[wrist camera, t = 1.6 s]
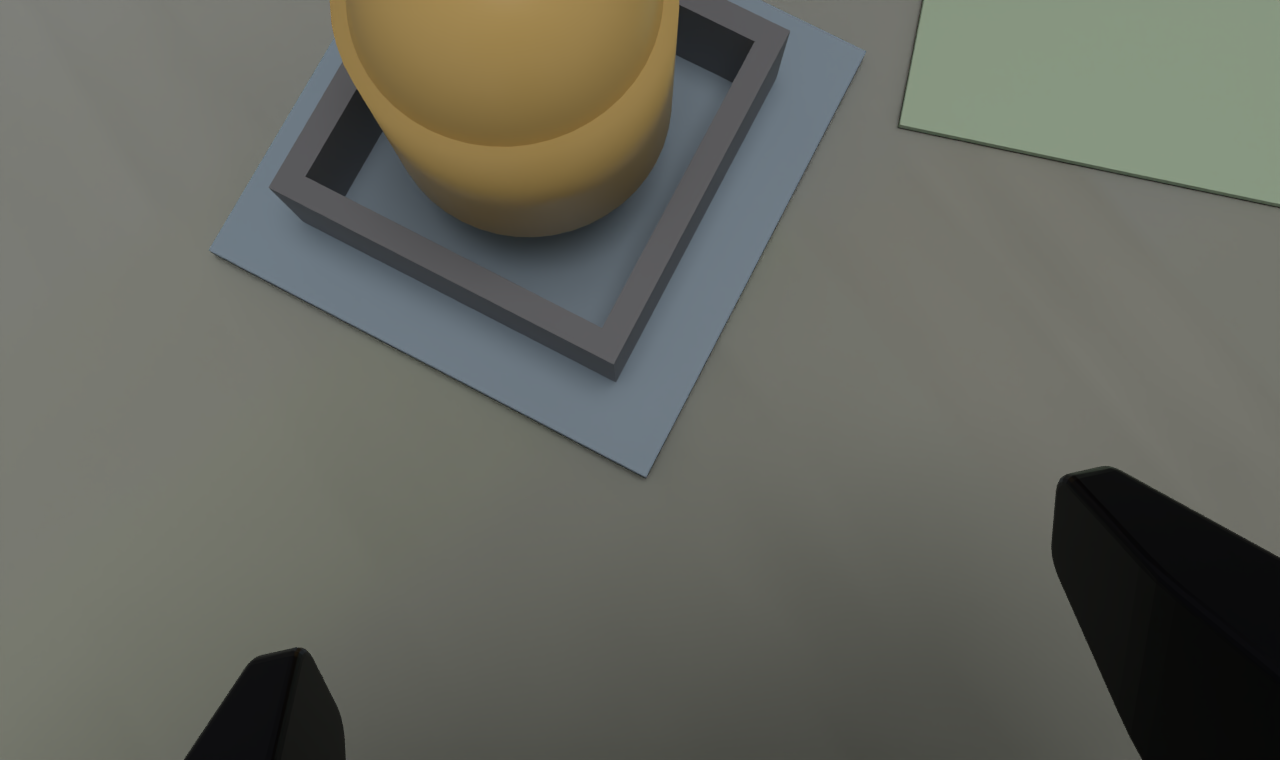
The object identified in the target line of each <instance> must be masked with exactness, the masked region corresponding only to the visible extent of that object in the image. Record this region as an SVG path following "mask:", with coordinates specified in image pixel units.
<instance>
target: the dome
mask: <svg viewBox="0 0 1280 760" xmlns="http://www.w3.org/2000/svg"><path fill="white" fill-rule="evenodd" d="M330 9H331V22H332V28H333V32H334V37H335V41H336V45H337V48H338V51H339V53H340V56H341V59H342V62H343V64H344V66H345V68H346V70H347V72H348V74H349V76H350V77H351V79H352V81H353V83H354V85H355V86H356V88H357V90H358V91H359V93H360V95H361V96H362V98H363V100H364V101H365V103H366V104H367V106H368V108H369V109H370V111H371V113H372V114H373V116H374V118H375V119H376V121H377V123H378V124H379V126H380V127H381V129H382V131H383V132H384V134H385V136H386V137H387V139H388V141H389V142H390V144H391V146H392V147H393V149H394V150H395V152H396V154H397V155H398V157H399V159H400V160H401V162H402V164H403V165H404V167H405V169H406V170H407V172H408V173H409V175H410V176H411V178H412V179H413V180H414V182H415V183H416V184H417V186H418V187H419V188H420V189H421V190H422V191H423V192H424V194H425V195H426V196H427V197H428V198H429V199H430V200H431V201H432V202H434V203H435V204H436V205H437V206H439V207H440V208H441V209H443V210H444V211H445V212H446V213H448V214H450V215H451V216H453V217H455V218H456V219H458V220H460V221H462V222H464V223H466V224H468V225H471V226H473V227H475V228H478V229H480V230H484V231H488V232H491V233H495V234H499V235H506V236H513V237H543V236H552V235H557V234H561V233H565V232H570V231H573V230H576V229H578V228H581V227H584V226H586V225H589V224H591V223H593V222H595V221H597V220H599V219H600V218H602V217H604V216H606V215H607V214H609V213H610V212H612V211H613V210H614V209H616V208H617V207H619V206H620V205H621V204H623V203H624V202H625V201H626V200H627V199H628V198H629V197H630V196H631V195H632V194H633V193H634V192H635V191H636V190H637V189H638V188H639V186H640V185H641V184H642V183H643V182H644V180H645V179H646V178H647V176H648V175H649V173H650V172H651V170H652V168H653V167H654V165H655V164H656V162H657V160H658V157H659V155H660V153H661V151H662V149H663V146H664V143H665V140H666V137H667V133H668V130H669V124H670V118H671V111H672V97H673V84H674V71H675V57H676V44H677V30H678V17H679V0H330Z"/></svg>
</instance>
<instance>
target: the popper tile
mask: <svg viewBox="0 0 1280 760" xmlns="http://www.w3.org/2000/svg"><path fill="white" fill-rule="evenodd" d="M865 53H866V51H865V50H863V49H860V48H858V47H856V46H854V45H852V44H850V43H848V42H846V41H844V40H842V39H840V38H838V37H836V36H834V35H832V34H829V33H827V32H825V31H823V30H821V29H819V28H817V27H815V26H813V25H811V24H809V23H807V22H805V21H803V20H801V19H798V18H796V17H794V16H792V15H790V14H788V13H786V12H784V11H782V10H780V9H778V8H776V7H774V6H772V5H770V4H767V3H765V2H763V1H761V0H679V17H678V30H677V44H676V57H675V71H674V84H673V97H672V111H671V118H670V124H669V130H668V133H667V137H666V140H665V143H664V146H663V149H662V151H661V153H660V155H659V157H658V160H657V162H656V164H655V165H654V167H653V168H652V170H651V172H650V173H649V175H648V176H647V178H646V179H645V180H644V182H643V183H642V184H641V185H640V186H639V188H638V189H637V190H636V191H635V192H634V193H633V194H632V195H631V196H630V197H629V198H628V199H627V200H626V201H625V202H624V203H623V204H621V205H620V206H619V207H617V208H616V209H614V210H613V211H612V212H610V213H609V214H607V215H606V216H604V217H602V218H600V219H599V220H597V221H595V222H593V223H591V224H589V225H586V226H584V227H581V228H578V229H576V230H573V231H570V232H565V233H561V234H557V235H552V236H543V237H513V236H506V235H499V234H495V233H491V232H488V231H484V230H480V229H478V228H475V227H473V226H471V225H468V224H466V223H464V222H462V221H460V220H458V219H456V218H455V217H453V216H451V215H450V214H448V213H446V212H445V211H444V210H443V209H441V208H440V207H439V206H437V205H436V204H435V203H434V202H432V201H431V200H430V199H429V198H428V197H427V196H426V195H425V194H424V192H423V191H422V190H421V189H420V188H419V187H418V186H417V184H416V183H415V182H414V180H413V179H412V178H411V176H410V175H409V173H408V172H407V170H406V169H405V167H404V165H403V164H402V162H401V160H400V159H399V157H398V155H397V154H396V152H395V150H394V149H393V147H392V146H391V144H390V142H389V141H388V139H387V137H386V136H385V134H384V132H383V131H382V129H381V127H380V126H379V124H378V123H377V121H376V119H375V118H374V116H373V114H372V113H371V111H370V109H369V108H368V106H367V104H366V103H365V101H364V100H363V98H362V96H361V95H360V93H359V91H358V90H357V88H356V86H355V85H354V83H353V81H352V79H351V77H350V76H349V74H348V72H347V70H346V68H345V66H344V64H343V62H342V59H341V56H340V53H339V51H338V48H337V45H336V41H335V37H334V39H333V41H332V43H331V44H330V46H329V48H328V49H327V51H326V53H325V54H324V56H323V58H322V59H321V61H320V63H319V65H318V66H317V68H316V70H315V71H314V73H313V75H312V76H311V78H310V80H309V81H308V83H307V85H306V86H305V88H304V90H303V92H302V93H301V95H300V97H299V98H298V100H297V102H296V103H295V105H294V107H293V108H292V110H291V112H290V114H289V115H288V117H287V119H286V120H285V122H284V124H283V125H282V127H281V129H280V130H279V132H278V134H277V136H276V137H275V139H274V141H273V142H272V144H271V146H270V147H269V149H268V151H267V152H266V154H265V156H264V157H263V159H262V161H261V163H260V164H259V166H258V168H257V169H256V171H255V173H254V174H253V176H252V178H251V179H250V181H249V183H248V185H247V186H246V188H245V190H244V191H243V193H242V195H241V196H240V198H239V200H238V201H237V203H236V205H235V207H234V208H233V210H232V212H231V213H230V215H229V217H228V218H227V220H226V222H225V223H224V225H223V227H222V228H221V230H220V232H219V234H218V235H217V237H216V239H215V240H214V242H213V244H212V245H211V247H210V249H209V251H211V252H212V253H214V254H215V255H217V256H219V257H220V258H222V259H224V260H226V261H228V262H230V263H232V264H234V265H236V266H238V267H240V268H242V269H244V270H246V271H247V272H249V273H251V274H253V275H255V276H257V277H259V278H261V279H263V280H265V281H267V282H269V283H271V284H272V285H274V286H276V287H278V288H280V289H282V290H284V291H286V292H288V293H290V294H292V295H294V296H296V297H298V298H299V299H301V300H303V301H305V302H307V303H309V304H311V305H313V306H315V307H317V308H319V309H321V310H323V311H324V312H326V313H328V314H330V315H332V316H334V317H336V318H338V319H340V320H342V321H344V322H346V323H348V324H349V325H351V326H353V327H355V328H357V329H359V330H361V331H363V332H365V333H367V334H369V335H371V336H373V337H375V338H376V339H378V340H380V341H382V342H384V343H386V344H388V345H390V346H392V347H394V348H396V349H398V350H400V351H401V352H403V353H405V354H407V355H409V356H411V357H413V358H415V359H417V360H419V361H421V362H423V363H425V364H427V365H428V366H430V367H432V368H434V369H436V370H438V371H440V372H442V373H444V374H446V375H448V376H450V377H452V378H453V379H455V380H457V381H459V382H461V383H463V384H465V385H467V386H469V387H471V388H473V389H475V390H477V391H479V392H480V393H482V394H484V395H486V396H488V397H490V398H492V399H494V400H496V401H498V402H500V403H502V404H504V405H505V406H507V407H509V408H511V409H513V410H515V411H517V412H519V413H521V414H523V415H525V416H527V417H529V418H531V419H532V420H534V421H536V422H538V423H540V424H542V425H544V426H546V427H548V428H550V429H552V430H554V431H556V432H557V433H559V434H561V435H563V436H565V437H567V438H569V439H571V440H573V441H575V442H577V443H579V444H581V445H582V446H584V447H586V448H588V449H590V450H592V451H594V452H596V453H598V454H600V455H602V456H604V457H606V458H608V459H609V460H611V461H613V462H615V463H617V464H619V465H621V466H623V467H625V468H627V469H629V470H631V471H633V472H634V473H636V474H638V475H640V476H642V477H644V478H646V477H647V475H648V473H649V472H650V470H651V468H652V466H653V464H654V462H655V460H656V458H657V456H658V454H659V452H660V450H661V448H662V446H663V444H664V443H665V441H666V439H667V437H668V435H669V433H670V431H671V429H672V427H673V425H674V423H675V421H676V419H677V417H678V415H679V414H680V412H681V410H682V408H683V406H684V404H685V402H686V400H687V398H688V396H689V394H690V392H691V390H692V388H693V386H694V384H695V383H696V381H697V379H698V377H699V375H700V373H701V371H702V369H703V367H704V365H705V363H706V361H707V359H708V357H709V355H710V354H711V352H712V350H713V348H714V346H715V344H716V342H717V340H718V338H719V336H720V334H721V332H722V330H723V328H724V326H725V325H726V323H727V321H728V319H729V317H730V315H731V313H732V311H733V309H734V307H735V305H736V303H737V301H738V299H739V297H740V296H741V294H742V292H743V290H744V288H745V286H746V284H747V282H748V280H749V278H750V276H751V274H752V272H753V270H754V268H755V266H756V265H757V263H758V261H759V259H760V257H761V255H762V253H763V251H764V249H765V247H766V245H767V243H768V241H769V239H770V237H771V236H772V234H773V232H774V230H775V228H776V226H777V224H778V222H779V220H780V218H781V216H782V214H783V212H784V210H785V208H786V207H787V205H788V203H789V201H790V199H791V197H792V195H793V193H794V191H795V189H796V187H797V185H798V183H799V181H800V179H801V178H802V176H803V174H804V172H805V170H806V168H807V166H808V164H809V162H810V160H811V158H812V156H813V154H814V152H815V150H816V148H817V147H818V145H819V143H820V141H821V139H822V137H823V135H824V133H825V131H826V129H827V127H828V125H829V123H830V121H831V119H832V118H833V116H834V114H835V112H836V110H837V108H838V106H839V104H840V102H841V100H842V98H843V96H844V94H845V92H846V90H847V89H848V87H849V85H850V83H851V81H852V79H853V77H854V75H855V73H856V71H857V69H858V67H859V65H860V63H861V61H862V60H863V57H864V55H865Z"/></svg>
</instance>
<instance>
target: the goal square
mask: <svg viewBox="0 0 1280 760" xmlns="http://www.w3.org/2000/svg"><path fill="white" fill-rule="evenodd" d="M898 127H899V128H904V129H909V130H914V131H918V132H923V133H928V134H933V135H938V136H942V137H947V138H952V139H957V140H961V141H966V142H971V143H976V144H981V145H985V146H990V147H995V148H1000V149H1004V150H1009V151H1014V152H1019V153H1024V154H1028V155H1033V156H1038V157H1043V158H1047V159H1052V160H1057V161H1062V162H1067V163H1071V164H1076V165H1081V166H1086V167H1090V168H1095V169H1100V170H1105V171H1110V172H1114V173H1119V174H1124V175H1129V176H1133V177H1138V178H1143V179H1148V180H1153V181H1157V182H1162V183H1167V184H1172V185H1176V186H1181V187H1186V188H1191V189H1196V190H1200V191H1205V192H1210V193H1215V194H1219V195H1224V196H1229V197H1234V198H1239V199H1243V200H1248V201H1253V202H1258V203H1262V204H1267V205H1272V206H1277V207H1280V0H923V2H922V7H921V12H920V17H919V23H918V28H917V33H916V38H915V43H914V48H913V53H912V58H911V64H910V69H909V74H908V79H907V84H906V89H905V94H904V99H903V105H902V110H901V115H900V120H899V125H898Z"/></svg>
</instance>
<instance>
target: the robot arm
mask: <svg viewBox="0 0 1280 760" xmlns="http://www.w3.org/2000/svg"><path fill="white" fill-rule="evenodd" d="M1051 550H1052V558H1053V562H1054V566H1055V569H1056V572H1057V575H1058V577H1059V580H1060V582H1061V584H1062V587H1063V589H1064V591H1065V593H1066V596H1067V598H1068V600H1069V602H1070V605H1071V607H1072V609H1073V611H1074V614H1075V616H1076V618H1077V620H1078V623H1079V625H1080V627H1081V629H1082V632H1083V634H1084V636H1085V639H1086V641H1087V643H1088V645H1089V648H1090V650H1091V652H1092V654H1093V657H1094V659H1095V661H1096V663H1097V666H1098V668H1099V670H1100V672H1101V675H1102V677H1103V679H1104V681H1105V684H1106V686H1107V688H1108V691H1109V693H1110V695H1111V697H1112V700H1113V702H1114V704H1115V706H1116V709H1117V711H1118V713H1119V715H1120V717H1121V719H1122V721H1123V724H1124V726H1125V728H1126V730H1127V732H1128V734H1129V736H1130V738H1131V740H1132V742H1133V744H1134V746H1135V747H1136V749H1137V751H1138V753H1139V755H1140V757H1141V758H1142V760H1280V557H1278V556H1276V555H1274V554H1272V553H1271V552H1269V551H1267V550H1265V549H1263V548H1261V547H1260V546H1258V545H1256V544H1254V543H1252V542H1250V541H1249V540H1247V539H1245V538H1243V537H1241V536H1240V535H1238V534H1236V533H1234V532H1232V531H1230V530H1229V529H1227V528H1225V527H1223V526H1221V525H1219V524H1218V523H1216V522H1214V521H1212V520H1210V519H1209V518H1207V517H1205V516H1203V515H1201V514H1199V513H1198V512H1196V511H1194V510H1192V509H1190V508H1188V507H1187V506H1185V505H1183V504H1181V503H1179V502H1178V501H1176V500H1174V499H1172V498H1170V497H1168V496H1167V495H1165V494H1163V493H1161V492H1159V491H1157V490H1156V489H1154V488H1152V487H1150V486H1148V485H1147V484H1145V483H1143V482H1141V481H1139V480H1137V479H1136V478H1134V477H1132V476H1130V475H1128V474H1126V473H1125V472H1123V471H1121V470H1119V469H1117V468H1114V467H1110V466H1101V467H1097V468H1092V469H1088V470H1083V471H1079V472H1074V473H1070V474H1067V475H1065V476H1063V477H1062V478H1061V479H1060V480H1059V482H1058V484H1057V489H1056V497H1055V508H1054V520H1053V531H1052V544H1051ZM184 760H346V757H345V739H344V730H343V724H342V720H341V716H340V713H339V710H338V707H337V705H336V703H335V701H334V699H333V697H332V695H331V693H330V691H329V689H328V687H327V685H326V683H325V681H324V679H323V677H322V675H321V673H320V671H319V669H318V667H317V665H316V663H315V661H314V659H313V658H312V656H311V655H310V653H309V652H308V651H307V650H306V649H303V648H297V647H296V648H291V649H287V650H283V651H278V652H274V653H269V654H265V655H261V656H258V657H256V658H254V659H253V660H252V661H251V662H250V663H249V664H248V665H247V666H246V667H245V669H244V670H243V672H242V673H241V675H240V676H239V678H238V679H237V681H236V682H235V684H234V685H233V687H232V688H231V690H230V691H229V693H228V694H227V696H226V697H225V699H224V700H223V702H222V703H221V705H220V706H219V708H218V709H217V711H216V712H215V714H214V715H213V717H212V718H211V720H210V721H209V723H208V724H207V726H206V727H205V729H204V730H203V732H202V733H201V735H200V736H199V738H198V739H197V741H196V742H195V744H194V745H193V747H192V748H191V750H190V751H189V753H188V754H187V756H186V757H185V759H184Z"/></svg>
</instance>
